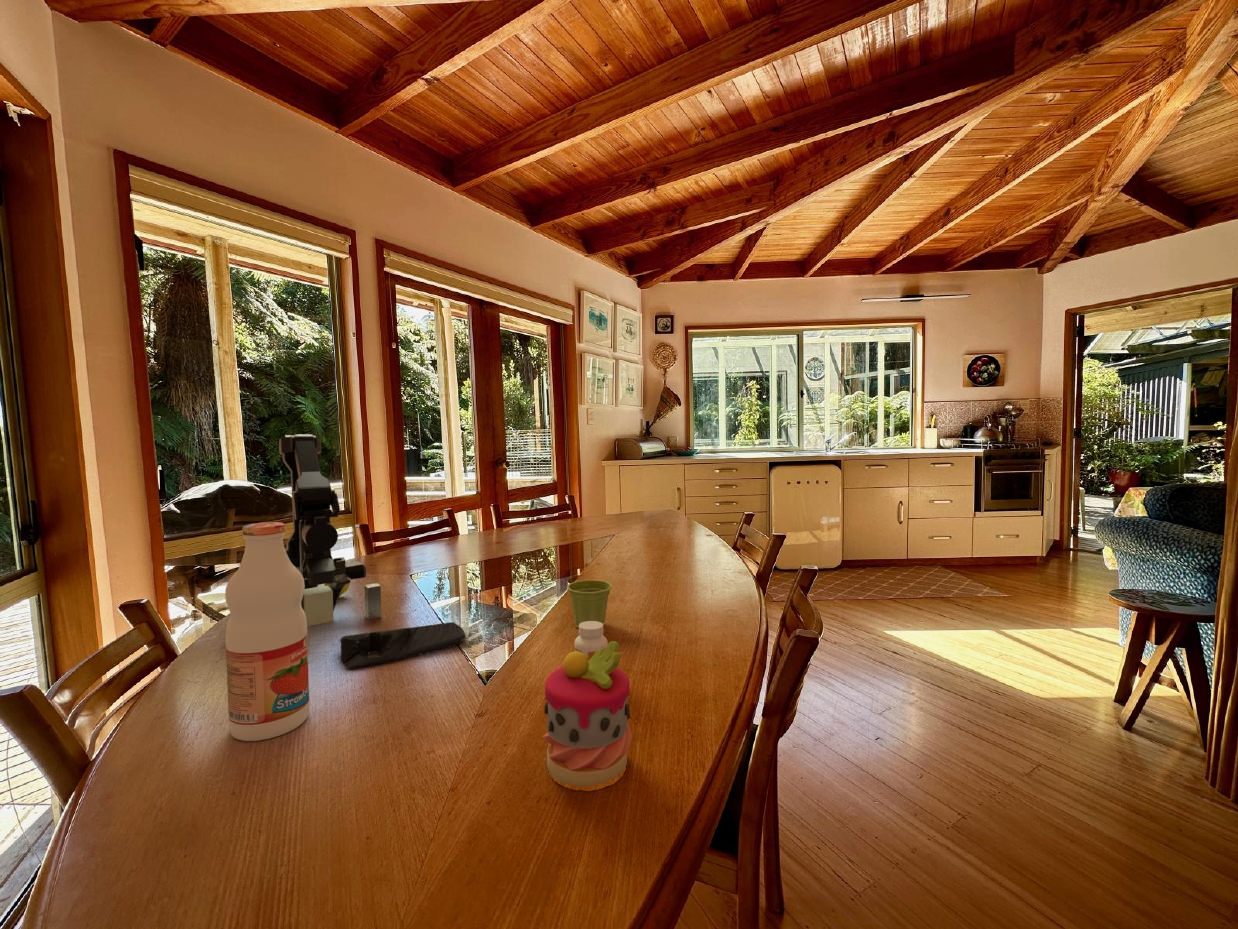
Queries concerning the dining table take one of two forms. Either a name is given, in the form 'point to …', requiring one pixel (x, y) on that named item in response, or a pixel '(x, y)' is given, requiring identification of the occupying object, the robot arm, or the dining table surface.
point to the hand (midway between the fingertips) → (317, 615)
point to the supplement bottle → (590, 638)
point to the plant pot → (589, 600)
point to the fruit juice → (266, 639)
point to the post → (372, 601)
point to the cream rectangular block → (318, 605)
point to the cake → (587, 718)
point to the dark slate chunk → (398, 644)
